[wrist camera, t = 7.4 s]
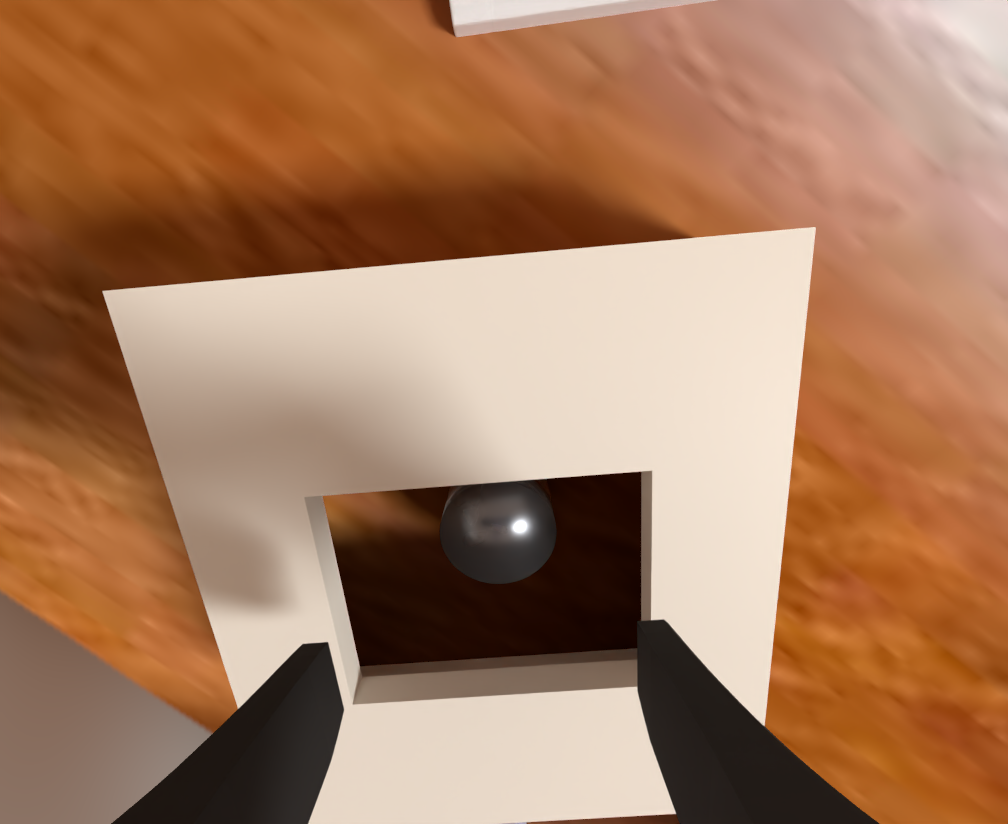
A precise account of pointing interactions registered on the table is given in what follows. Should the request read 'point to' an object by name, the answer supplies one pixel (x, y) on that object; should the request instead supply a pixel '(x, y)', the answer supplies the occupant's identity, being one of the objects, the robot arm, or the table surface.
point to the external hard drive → (540, 12)
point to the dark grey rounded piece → (499, 529)
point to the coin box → (476, 460)
